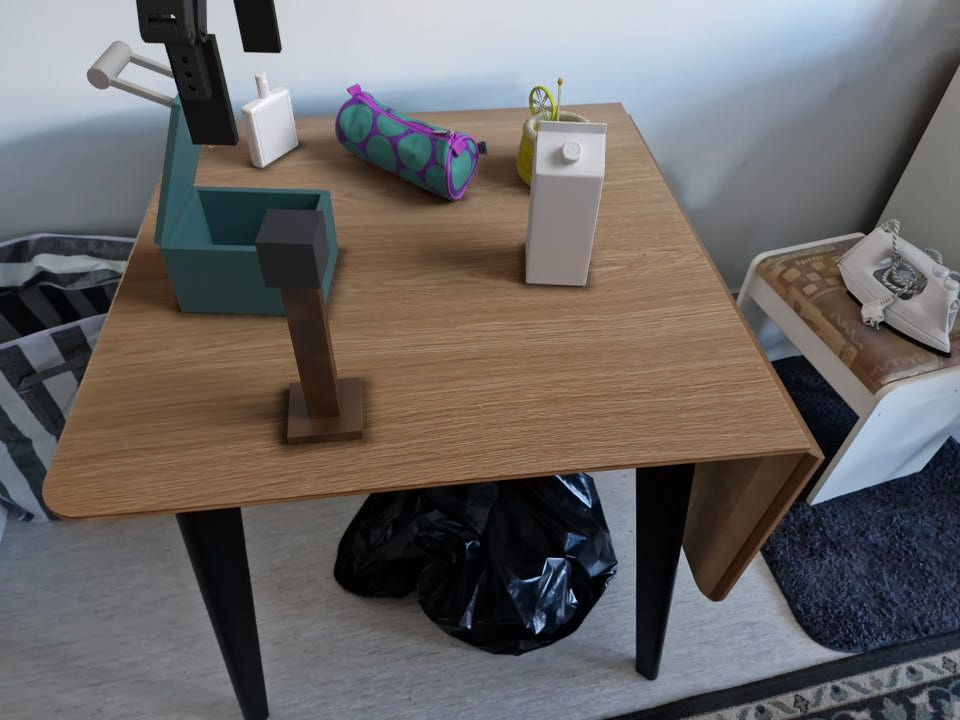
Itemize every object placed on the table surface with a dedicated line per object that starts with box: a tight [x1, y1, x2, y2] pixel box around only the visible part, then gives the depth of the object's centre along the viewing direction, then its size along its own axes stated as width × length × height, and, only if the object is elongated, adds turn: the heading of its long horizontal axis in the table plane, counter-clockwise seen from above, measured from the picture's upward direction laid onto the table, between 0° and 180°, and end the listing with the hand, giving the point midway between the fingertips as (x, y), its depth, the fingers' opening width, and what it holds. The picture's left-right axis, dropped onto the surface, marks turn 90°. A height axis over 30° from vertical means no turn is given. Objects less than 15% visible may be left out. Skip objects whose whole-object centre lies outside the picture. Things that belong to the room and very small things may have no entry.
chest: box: [158, 185, 340, 316], centre depth 82 cm, size 16×12×9 cm
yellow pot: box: [516, 77, 591, 187], centre depth 99 cm, size 13×11×12 cm
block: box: [255, 209, 330, 289], centre depth 57 cm, size 4×4×4 cm
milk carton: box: [525, 121, 608, 287], centre depth 82 cm, size 7×7×19 cm
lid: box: [86, 40, 202, 246], centre depth 72 cm, size 17×12×9 cm
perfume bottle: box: [240, 71, 299, 169], centre depth 101 cm, size 8×2×12 cm, turn 149°
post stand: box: [280, 287, 364, 446], centre depth 65 cm, size 7×7×18 cm
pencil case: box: [334, 83, 488, 202], centre depth 99 cm, size 21×9×10 cm, turn 54°
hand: (242, 92), depth 50 cm, fingers open, 13 cm apart
